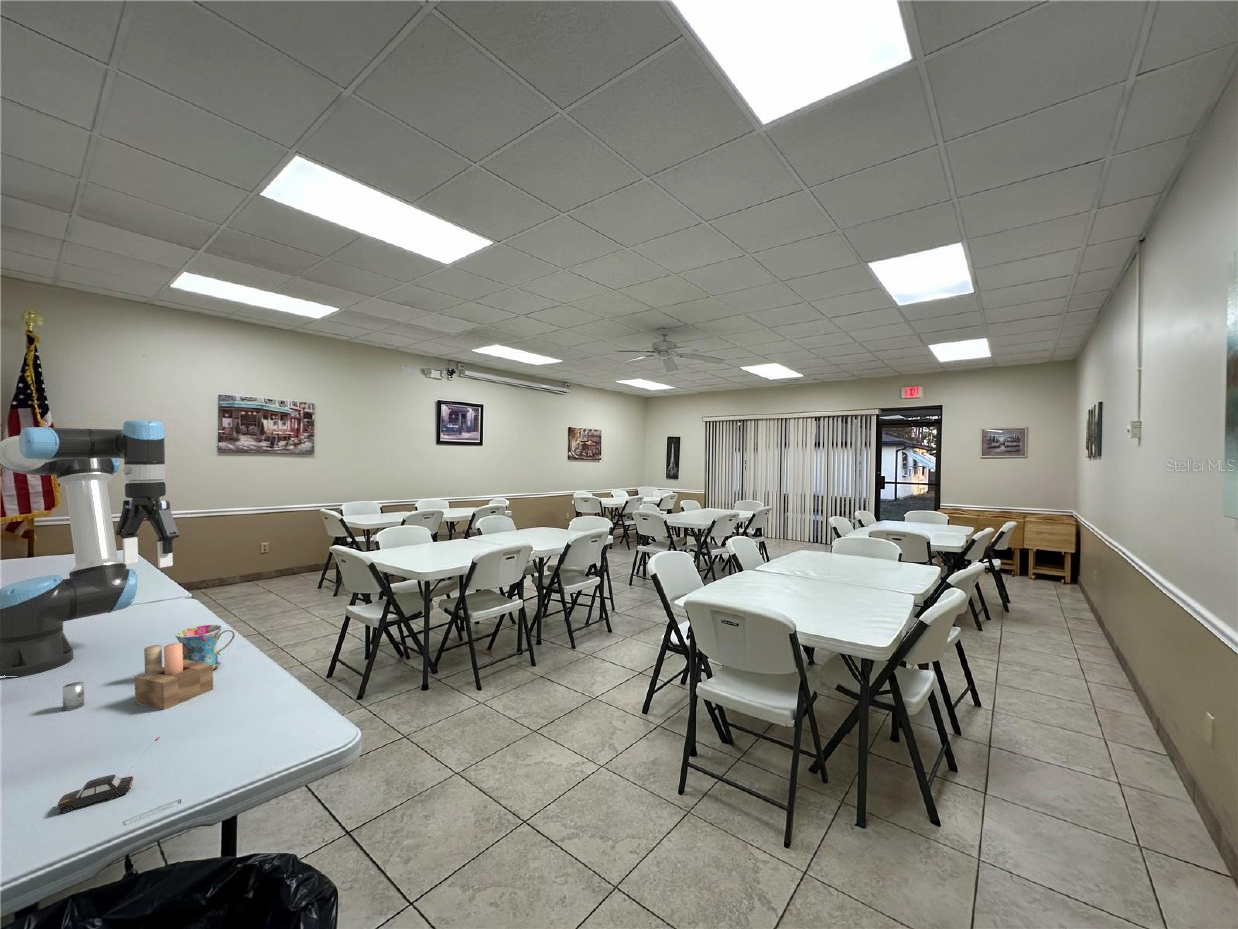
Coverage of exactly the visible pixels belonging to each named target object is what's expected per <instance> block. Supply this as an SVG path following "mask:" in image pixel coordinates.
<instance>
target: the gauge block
mask: <svg viewBox="0 0 1238 929" xmlns="http://www.w3.org/2000/svg"><path fill="white" fill-rule="evenodd" d="M213 690H214V672H213V665H211V664H206V663H200V662H195V661H190V660H183V671H182V672H179V673H177V674H174V675H171V676H168V675H165V666H162V668H159V669H156V670H153V671H150V672H147V673H145V672H144V673H143V674H142V673H141V674H139V675H136V676H134V698H135V699H134V700H135V701H134V702H135V703H134V704H138V705H143V706H148V707H151V708H155V709H160V710H168V709H170V708H172V707H174V706H176V705H179V704H181V703H183V702H187V701H188V700H191V699H193V698H196V697H198V696H201V695H203V694H205V693H208V692H210V691H213Z"/></svg>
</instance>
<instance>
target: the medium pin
mask: <svg viewBox="0 0 1238 929" xmlns="http://www.w3.org/2000/svg"><path fill="white" fill-rule="evenodd" d="M162 650H163V649H162V645H161V644H154V645H150V646H146V647H145V648H144V649H143V651H144V653H143V654H144V655H143V658H144V674H145V673H147V672H150V671H153V670H156V669H159V668H162V667H163V654H162Z"/></svg>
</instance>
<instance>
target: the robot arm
mask: <svg viewBox="0 0 1238 929" xmlns="http://www.w3.org/2000/svg"><path fill="white" fill-rule="evenodd" d="M165 437H166V434H165V428H164V424H163V423H162V422H160V421H158V420H157V421H156V420H140V419H139V420H137V419H136V420H135V419H133V420H130V419H129V420H125V421H124V422H123V424H122V429H116V428H115V429H114V428H111V429H110V428H74V427H73V428H70V427H50V426H49V427H48V426H39V427H36V426H35V427H32V426H30V427H25V428H23V429H22V430H21V431H20V433H19V435H13V436H9V437H7V438H4V439H3V440H1V441H0V467H1V468H2V469H5V470H8V471H9V472H12V473H18V474H22V475H30V476H55V477H56V482H57V483H58V484H60V485H62V486H63V487H65V491H66V492H65V493H66V500H67V507H68V509H67V510H68V515H69V522H70V530H71V538H72V546H73V554H74V560H75V561H74V562H75V566H74V567H73V568H72V569H71V570H70V571H69V572H68V576H69V578H64V579H63V577H62V576H61V574H60V575H59V574H50V575H49V574H48V575H45V576H43V575H41V576H36V577H32V578H28V579H24V580H19V581H16V582H13V583H9V584H6V585H4V586H2V587H1V588H0V676H4V675H5V676H20V677H25V676H30V675H34V674H38V673H41V672H42V673H43V672H46V671H49V670H53V669H55V668H58V667H61V666H63V665H65V664H67V663H69V662H72V660H74V658H75V657H74V649H73V647H72V645H71V643H70V642H69V640H68V638H67V636H66V635H65V632H64V622H68V621H73V620H78V619H82V618H88V617H93V616H97V615H98V616H99V615H102V614H111V613H113V612H117V611H121V610H124V609H125V610H126V609H127V608H128V607H130V606H131V605H132V604H133V602H135V598H136V595H137V592H138V575H137V573H136V570H135V569H134V568H127V565H128V564H134V563H138V562H139V547H138V546H139V543H138V542H139V541H138V540H139V539H138V537H139V535H138V533H137V532H138V531H139V529H140V527H141V525H142V523H143V521H144V520H146V521H148V522H149V524H150V525H151V526H152V528H153V531H154V532H155V534H156V535H157V537H158V538H157V540H156V544H157V568H159V569H160V568H166V567H172V566H173V565H174V562H173V561H174V560H173V558H174V556H173V541H174V540H175V539H178V538H179V537H180V533H179V531H178V530H179V529H178V527H177V525H176V521H175V519H174V516H173V513H172V511H171V505H170V501H169V500H161V499H160V498H161V497H164V496H166V495H167V490H166V489H167V487H166V482H164V481H165V480H166V464H165V463H166V462H165V461H166V454H165V453H166V452H165V450H166V448H165ZM120 459H122V460H123V461H124V462H123V463H124V464H123V465H124V469H123V470H122V471H123V473H124V480H125V481H126V483H125V484H124V496H125V498H127V499H125V500H123V501H122V509H121V514H120V517H119V520H118V524H117V526H116V529H115V530H116V532H115V530H114V523H113V517H112V509H111V508H112V507H111V502H110V496H109V488H108V483H109V482H110V481H111V480H112V479H113V478H114V474H116V473H118V472H119V470H120ZM115 535H116V536H120V539H122V559H123V560H121V559H119V556H118V551H117V550H118V549H117V545H116V544H117V543H116V539H115V538H116V536H115ZM24 675H25V676H24Z"/></svg>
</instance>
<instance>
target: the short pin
mask: <svg viewBox="0 0 1238 929" xmlns="http://www.w3.org/2000/svg"><path fill="white" fill-rule="evenodd" d="M84 706H85V682H84V681H77V682H75V681H74V682H71V683H68V684H66V685H63V687H62V710H63V711H64V712H68V711H69V712H70V711H74V710H78V709H80V708H82V707H84Z"/></svg>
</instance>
